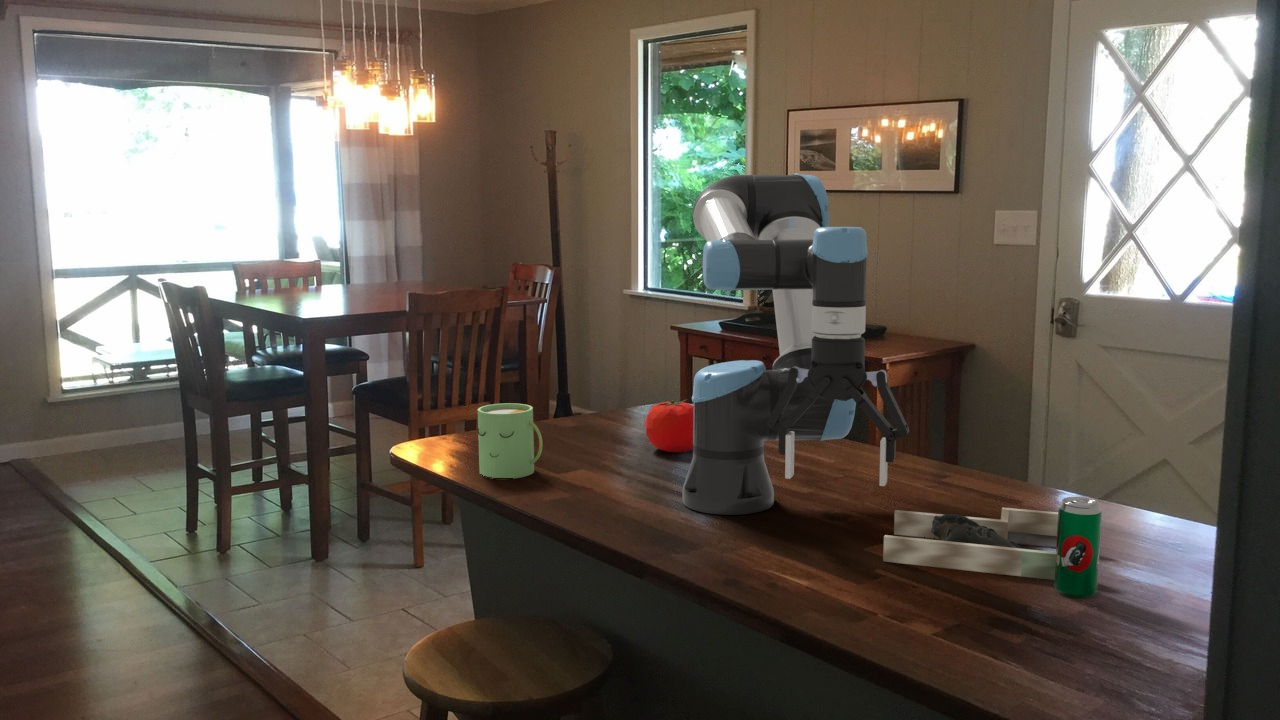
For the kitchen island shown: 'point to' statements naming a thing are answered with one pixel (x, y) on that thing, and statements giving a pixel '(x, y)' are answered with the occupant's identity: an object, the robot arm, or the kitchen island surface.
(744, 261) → the robot arm
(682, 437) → the tomato
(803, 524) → the kitchen island surface
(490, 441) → the mug
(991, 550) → the channel
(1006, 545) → the stone
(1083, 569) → the soda can
